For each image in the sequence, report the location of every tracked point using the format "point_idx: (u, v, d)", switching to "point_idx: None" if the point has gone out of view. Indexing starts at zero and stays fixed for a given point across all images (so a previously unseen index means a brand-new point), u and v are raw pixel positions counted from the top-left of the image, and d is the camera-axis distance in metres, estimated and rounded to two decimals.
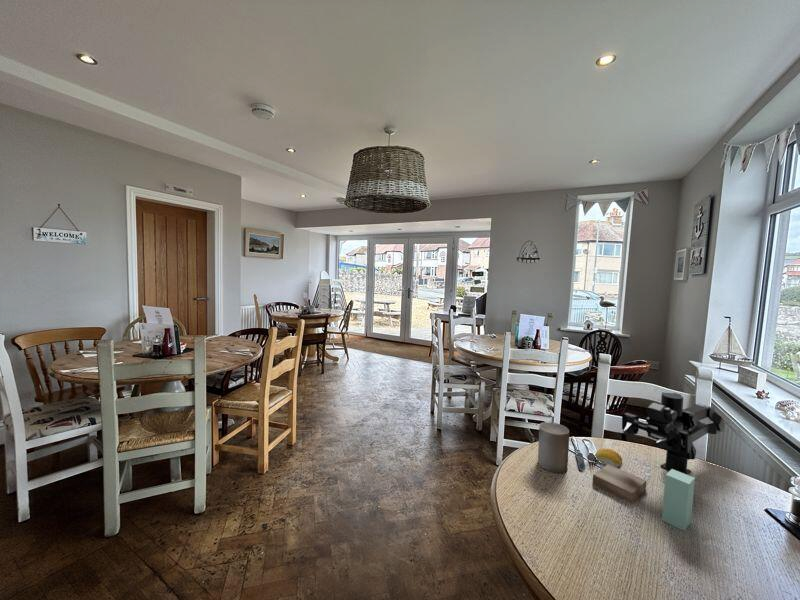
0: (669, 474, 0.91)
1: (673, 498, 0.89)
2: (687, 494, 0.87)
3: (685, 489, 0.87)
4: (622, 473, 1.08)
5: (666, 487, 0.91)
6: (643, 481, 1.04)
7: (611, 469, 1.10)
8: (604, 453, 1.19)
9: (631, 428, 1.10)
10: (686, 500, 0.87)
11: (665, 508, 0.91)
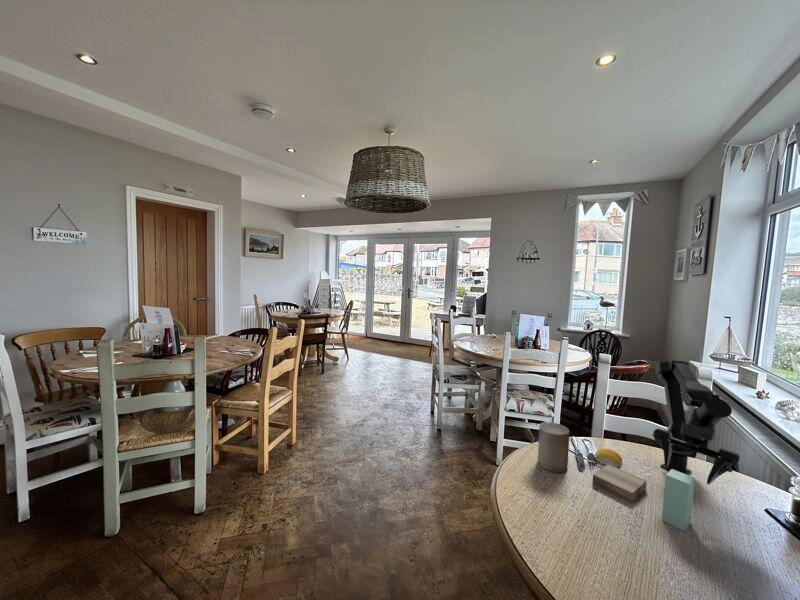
0: (669, 474, 0.91)
1: (673, 498, 0.89)
2: (687, 494, 0.87)
3: (685, 489, 0.87)
4: (622, 473, 1.08)
5: (666, 487, 0.91)
6: (643, 481, 1.04)
7: (611, 469, 1.10)
8: (604, 453, 1.19)
9: (669, 452, 0.99)
10: (686, 500, 0.87)
11: (665, 508, 0.91)
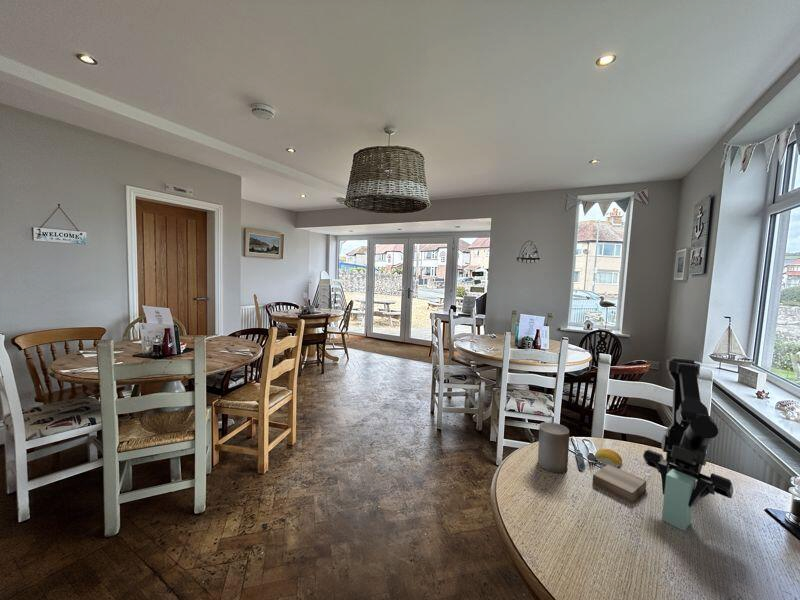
0: (670, 474, 0.91)
1: (674, 498, 0.89)
2: (687, 494, 0.87)
3: (685, 489, 0.87)
4: (622, 473, 1.08)
5: (666, 487, 0.90)
6: (643, 481, 1.04)
7: (611, 469, 1.10)
8: (604, 453, 1.19)
9: None
10: (686, 500, 0.87)
11: (665, 508, 0.91)
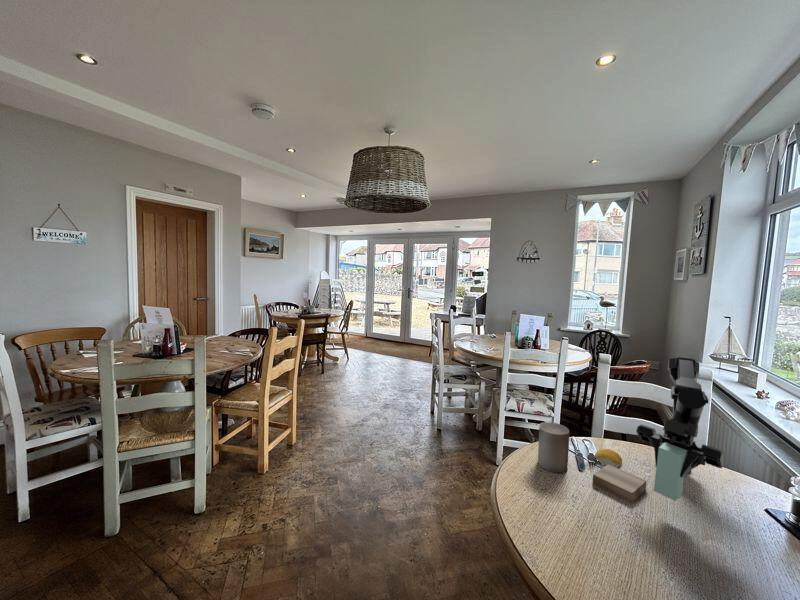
0: (662, 447, 0.92)
1: (665, 470, 0.91)
2: (679, 466, 0.89)
3: (677, 460, 0.89)
4: (622, 473, 1.08)
5: (659, 459, 0.92)
6: (643, 481, 1.04)
7: (611, 469, 1.10)
8: (604, 453, 1.19)
9: None
10: (678, 471, 0.89)
11: (657, 480, 0.93)
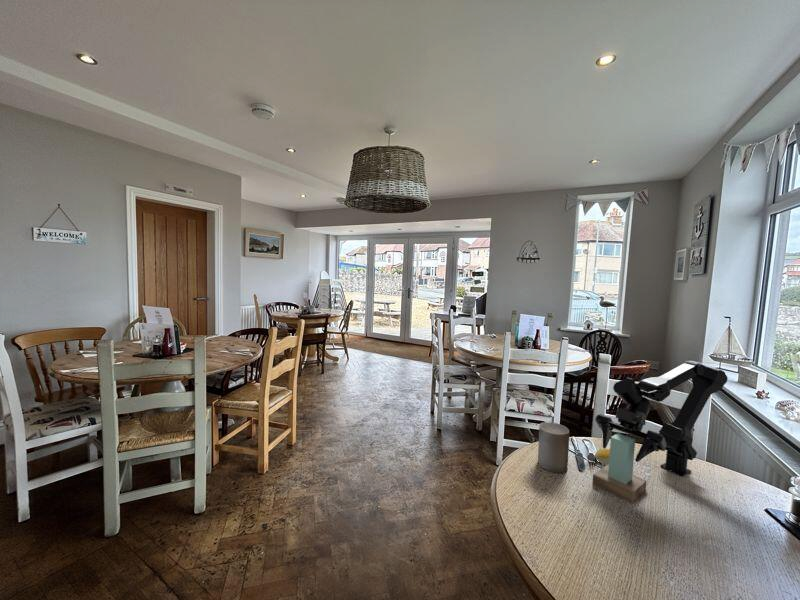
0: (614, 437, 1.05)
1: (617, 457, 1.04)
2: (627, 452, 1.02)
3: (625, 448, 1.02)
4: None
5: (611, 448, 1.05)
6: (643, 481, 1.04)
7: None
8: (604, 453, 1.19)
9: (608, 435, 1.10)
10: (626, 457, 1.02)
11: (610, 466, 1.05)
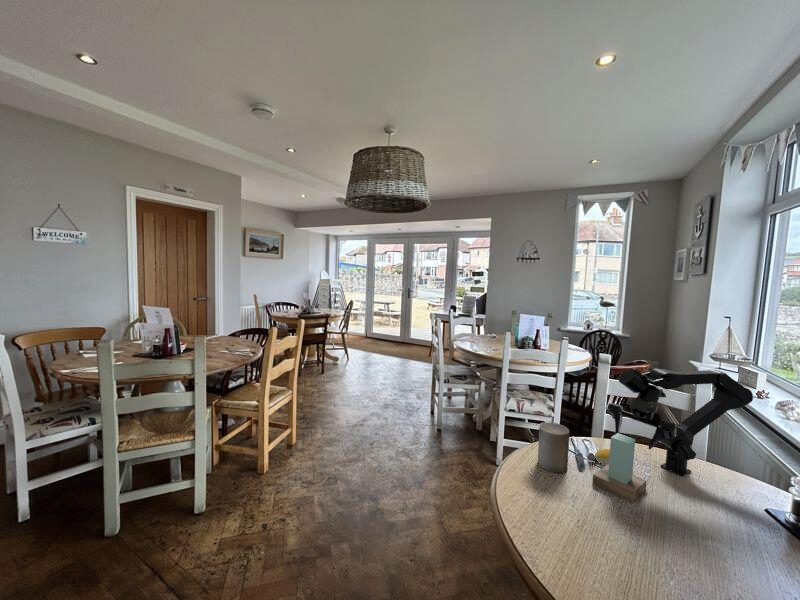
0: (614, 437, 1.05)
1: (617, 457, 1.04)
2: (627, 452, 1.02)
3: (625, 448, 1.02)
4: None
5: (611, 448, 1.05)
6: (643, 481, 1.04)
7: None
8: (604, 454, 1.19)
9: (620, 423, 1.14)
10: (626, 457, 1.02)
11: (610, 466, 1.05)
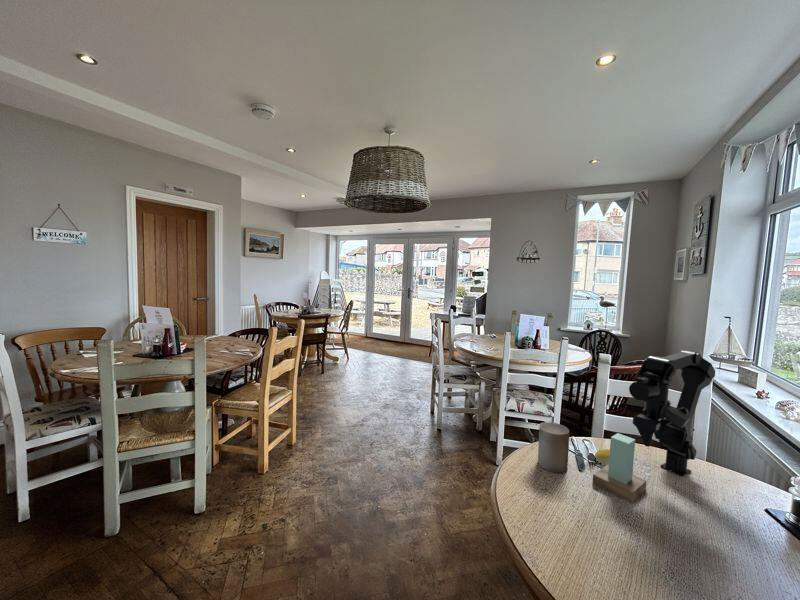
0: (614, 437, 1.05)
1: (617, 457, 1.04)
2: (627, 452, 1.02)
3: (625, 448, 1.02)
4: None
5: (611, 448, 1.05)
6: (643, 481, 1.04)
7: None
8: (604, 454, 1.19)
9: None
10: (626, 457, 1.02)
11: (610, 466, 1.05)
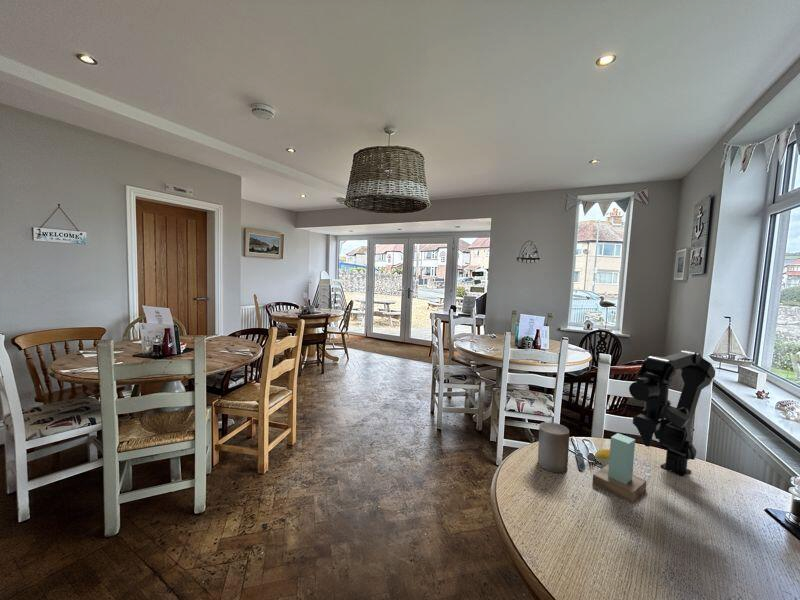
0: (614, 437, 1.05)
1: (617, 457, 1.04)
2: (627, 452, 1.02)
3: (625, 448, 1.02)
4: None
5: (611, 448, 1.05)
6: (643, 481, 1.04)
7: None
8: (604, 454, 1.19)
9: None
10: (626, 457, 1.02)
11: (610, 466, 1.05)
